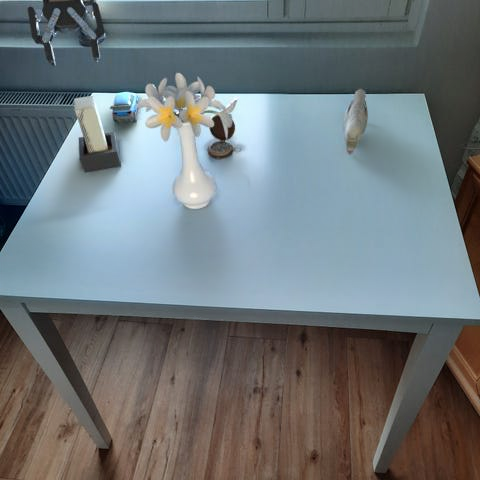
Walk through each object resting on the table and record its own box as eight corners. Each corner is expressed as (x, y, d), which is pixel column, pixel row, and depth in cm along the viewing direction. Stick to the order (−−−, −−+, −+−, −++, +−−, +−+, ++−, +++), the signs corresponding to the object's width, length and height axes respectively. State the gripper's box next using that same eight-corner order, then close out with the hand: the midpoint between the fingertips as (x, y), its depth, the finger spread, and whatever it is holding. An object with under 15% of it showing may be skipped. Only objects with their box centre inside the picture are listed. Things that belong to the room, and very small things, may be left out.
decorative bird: (337, 154, 109) (342, 124, 103) (345, 117, 118) (349, 87, 113) (361, 156, 108) (367, 126, 102) (367, 119, 118) (372, 89, 112)
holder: (84, 173, 109) (79, 157, 106) (83, 152, 114) (78, 137, 111) (121, 166, 110) (116, 151, 107) (118, 146, 115) (114, 131, 112)
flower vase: (242, 216, 97) (237, 99, 78) (154, 221, 98) (126, 105, 78) (241, 178, 105) (235, 62, 85) (159, 182, 106) (135, 68, 86)
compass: (205, 159, 110) (202, 130, 104) (211, 140, 115) (209, 111, 109) (239, 161, 109) (237, 132, 103) (244, 142, 114) (242, 113, 108)
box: (90, 150, 113) (72, 97, 102) (108, 146, 113) (93, 94, 103) (91, 162, 109) (73, 109, 99) (110, 159, 110) (94, 106, 100)
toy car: (140, 102, 127) (136, 81, 123) (136, 126, 120) (131, 105, 116) (119, 103, 127) (113, 82, 123) (113, 128, 120) (107, 106, 116)
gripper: (14, -34, 89) (35, 60, 93) (91, -38, 91) (108, 54, 95) (24, -15, 96) (43, 71, 100) (95, -19, 98) (111, 65, 102)
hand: (75, 63), depth 97 cm, fingers open, 8 cm apart
